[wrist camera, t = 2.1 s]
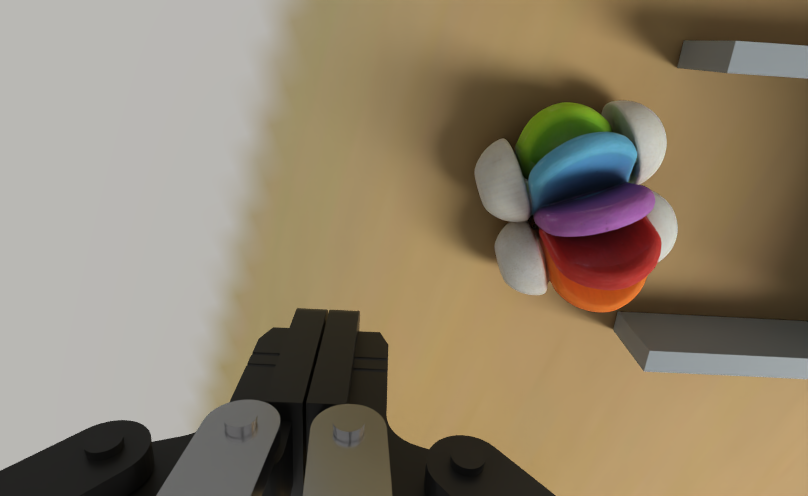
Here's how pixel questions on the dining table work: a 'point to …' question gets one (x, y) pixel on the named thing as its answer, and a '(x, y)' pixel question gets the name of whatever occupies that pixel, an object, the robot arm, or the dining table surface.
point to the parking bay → (709, 335)
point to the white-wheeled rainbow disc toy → (580, 203)
